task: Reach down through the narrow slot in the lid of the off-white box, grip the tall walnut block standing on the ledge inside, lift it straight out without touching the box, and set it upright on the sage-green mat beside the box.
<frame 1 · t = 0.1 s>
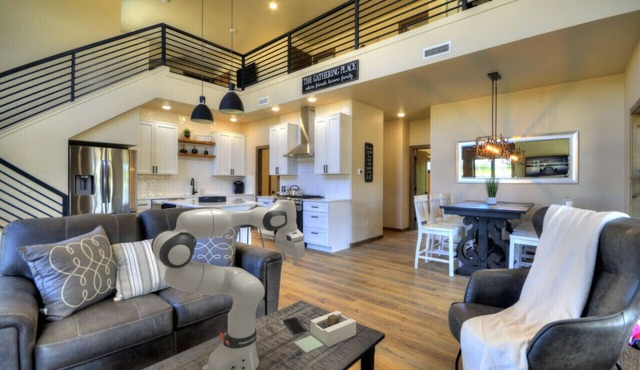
hand: (290, 262, 138), 39 cm above the table, tool pointing down, fingers open, 8 cm apart
phone: (294, 327, 158), on the table
slotted box: (333, 334, 150), on the table
sage mat: (308, 344, 141), on the table
walnut block: (333, 330, 150), point 2 cm above the table, touching slotted box
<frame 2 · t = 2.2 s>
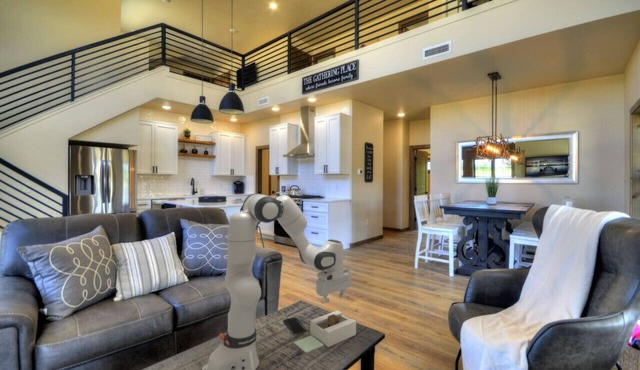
hand: (334, 299, 150), 18 cm above the table, tool pointing down, fingers open, 8 cm apart
nothing on the table moved.
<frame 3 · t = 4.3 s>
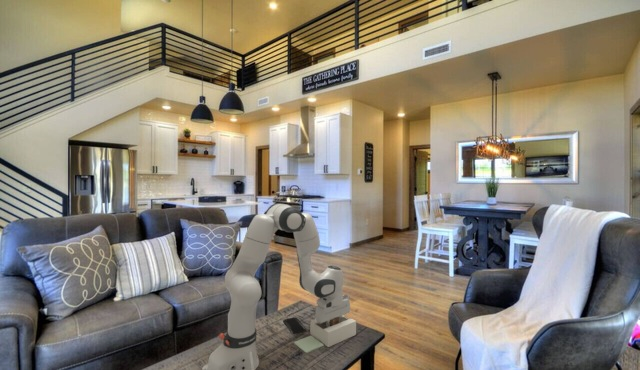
hand: (333, 325, 150), 4 cm above the table, tool pointing down, fingers closed on walnut block, 4 cm apart
walnut block: (333, 330, 150), point 2 cm above the table, touching gripper, slotted box
everything else where it was.
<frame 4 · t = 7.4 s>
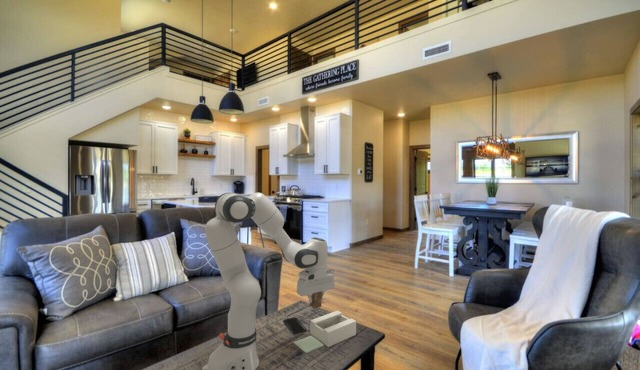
hand: (315, 301, 143), 20 cm above the table, tool pointing down, fingers closed on walnut block, 4 cm apart
walnut block: (315, 305, 143), point 17 cm above the table, touching gripper
everything else where it was.
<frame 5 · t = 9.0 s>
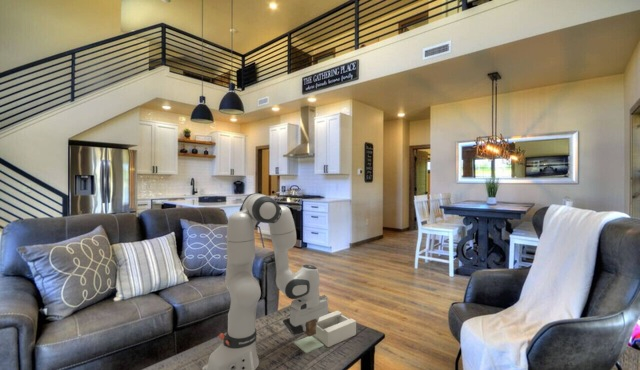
hand: (309, 328, 141), 7 cm above the table, tool pointing down, fingers closed on walnut block, 4 cm apart
walnut block: (310, 333, 141), point 5 cm above the table, touching gripper
everything else where it was.
when the fingers open (4 cm above the table, at t = 10.3 s): walnut block drops 1 cm, resting on sage mat.
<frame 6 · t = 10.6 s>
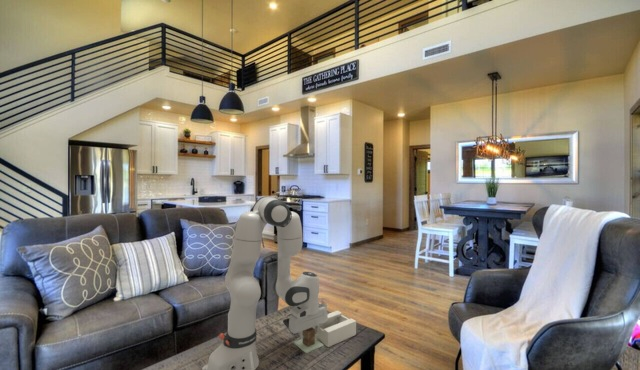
hand: (308, 336, 141), 4 cm above the table, tool pointing down, fingers open, 6 cm apart
walnut block: (308, 343, 141), point 1 cm above the table, touching sage mat
everything else where it was.
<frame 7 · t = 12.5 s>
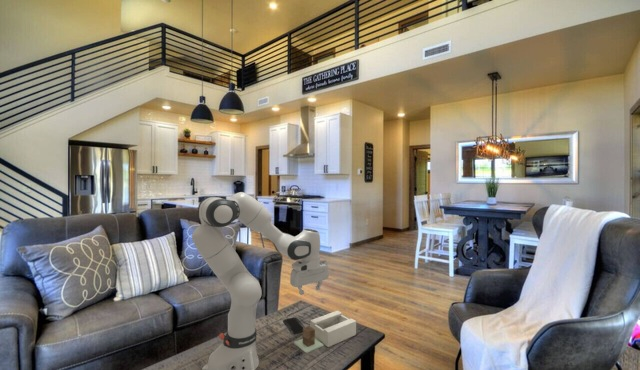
hand: (309, 291, 143), 24 cm above the table, tool pointing down, fingers open, 8 cm apart
nothing on the table moved.
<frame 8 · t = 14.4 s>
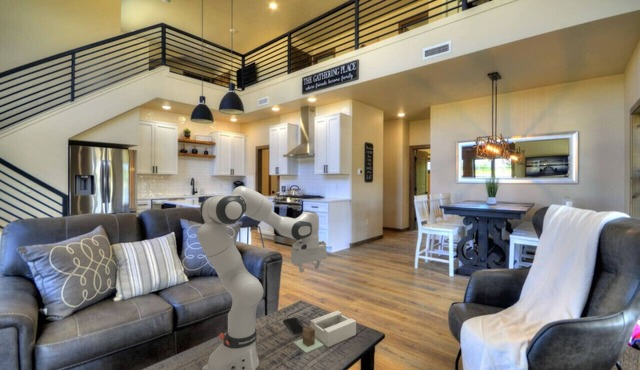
hand: (309, 270, 152), 31 cm above the table, tool pointing down, fingers open, 8 cm apart
nothing on the table moved.
at the end: walnut block inside the target area on the sage mat (0.1 cm from its centre), point 0.6 cm above the sage mat's base; walnut block tilted 0°; walnut block touching sage mat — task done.
